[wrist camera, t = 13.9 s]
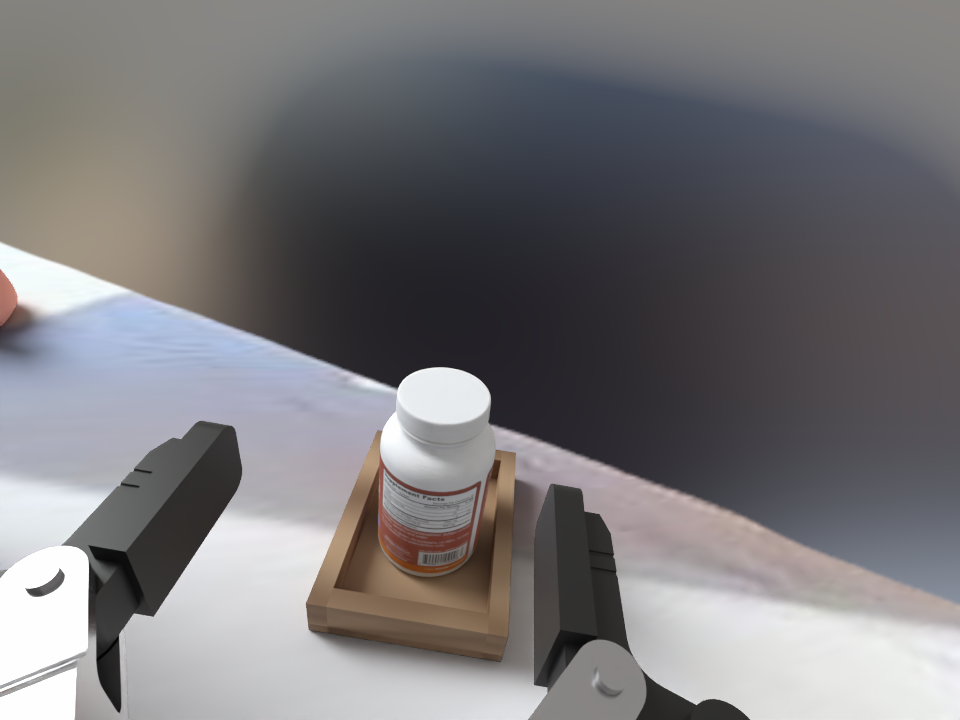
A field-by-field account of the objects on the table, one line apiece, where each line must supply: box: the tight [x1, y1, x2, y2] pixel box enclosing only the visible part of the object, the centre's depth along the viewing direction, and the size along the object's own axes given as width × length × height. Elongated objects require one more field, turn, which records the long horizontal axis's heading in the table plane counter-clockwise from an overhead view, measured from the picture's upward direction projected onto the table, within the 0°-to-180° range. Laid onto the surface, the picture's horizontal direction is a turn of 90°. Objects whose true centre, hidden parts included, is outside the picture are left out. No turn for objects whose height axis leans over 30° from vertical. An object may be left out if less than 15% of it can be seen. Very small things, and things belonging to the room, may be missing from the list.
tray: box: [306, 430, 516, 662], centre depth 30 cm, size 13×10×2 cm
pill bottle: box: [378, 368, 496, 577], centre depth 27 cm, size 6×6×11 cm
